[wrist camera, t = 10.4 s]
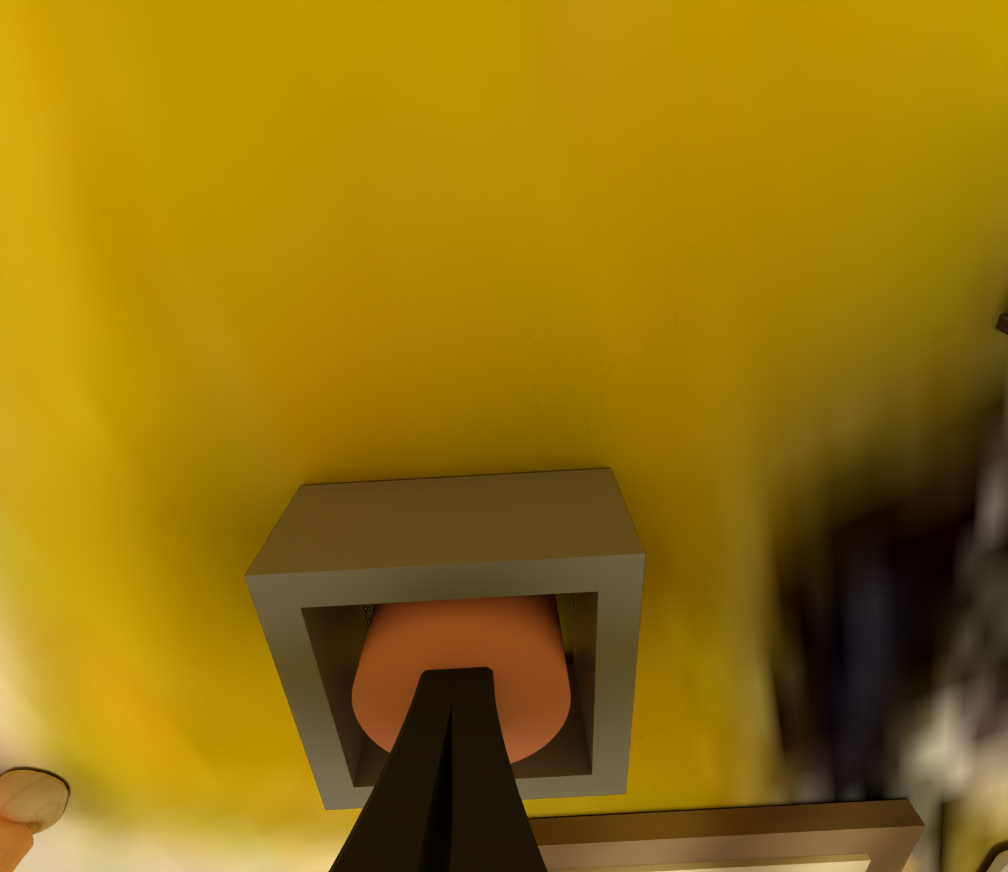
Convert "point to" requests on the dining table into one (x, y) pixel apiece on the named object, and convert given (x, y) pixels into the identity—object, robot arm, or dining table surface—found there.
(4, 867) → the grandmother figurine
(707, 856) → the brown picture frame
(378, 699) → the button
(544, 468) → the dining table surface
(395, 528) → the button housing
